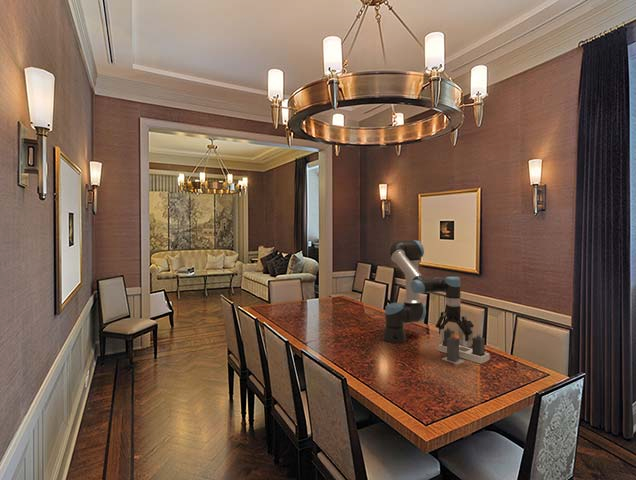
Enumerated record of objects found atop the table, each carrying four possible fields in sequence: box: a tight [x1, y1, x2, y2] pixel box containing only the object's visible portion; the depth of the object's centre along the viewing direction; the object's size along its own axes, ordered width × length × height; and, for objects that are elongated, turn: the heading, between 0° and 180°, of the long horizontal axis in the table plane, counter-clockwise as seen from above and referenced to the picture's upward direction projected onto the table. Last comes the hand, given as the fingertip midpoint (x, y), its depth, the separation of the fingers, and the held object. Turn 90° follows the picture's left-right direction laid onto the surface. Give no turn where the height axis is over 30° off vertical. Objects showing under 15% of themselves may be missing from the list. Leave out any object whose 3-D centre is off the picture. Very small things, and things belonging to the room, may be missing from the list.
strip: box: [437, 325, 491, 365], centre depth 200 cm, size 26×9×15 cm, turn 39°
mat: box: [441, 356, 465, 365], centre depth 193 cm, size 10×7×1 cm
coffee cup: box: [457, 320, 475, 348], centre depth 217 cm, size 9×9×15 cm
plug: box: [446, 333, 460, 363], centre depth 193 cm, size 4×4×14 cm
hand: (453, 343), depth 193 cm, fingers open, 13 cm apart
